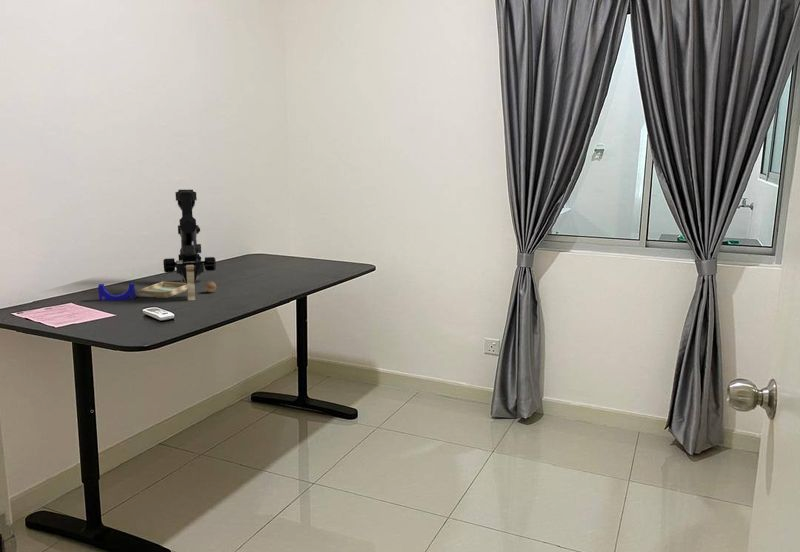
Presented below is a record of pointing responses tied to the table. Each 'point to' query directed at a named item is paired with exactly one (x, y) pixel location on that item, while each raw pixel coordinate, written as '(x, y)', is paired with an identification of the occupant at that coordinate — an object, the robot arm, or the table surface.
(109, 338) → the table surface
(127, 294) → the cable clip
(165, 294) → the tray
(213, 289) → the bead
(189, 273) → the tall beige post
